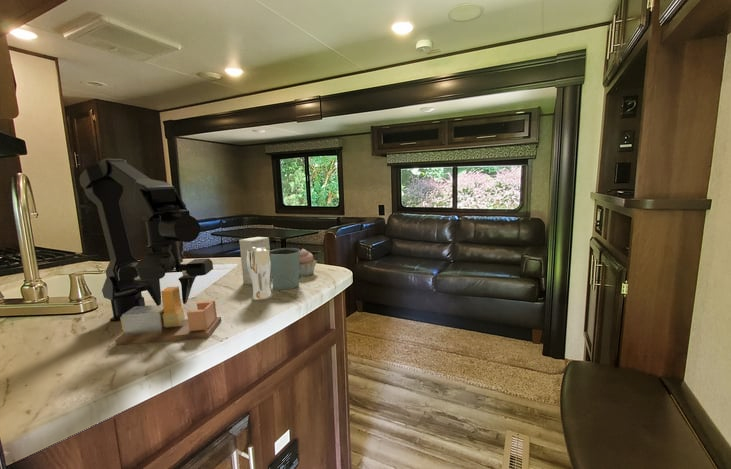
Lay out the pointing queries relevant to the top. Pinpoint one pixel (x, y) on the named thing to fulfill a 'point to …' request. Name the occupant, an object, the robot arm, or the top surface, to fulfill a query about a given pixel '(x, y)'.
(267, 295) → the beer glass
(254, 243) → the skincare box
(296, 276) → the teal mug
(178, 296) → the wooden blocks
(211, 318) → the terracotta socket
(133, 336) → the walnut board
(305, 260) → the cupcake
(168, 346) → the top surface
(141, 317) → the steel sleeve
